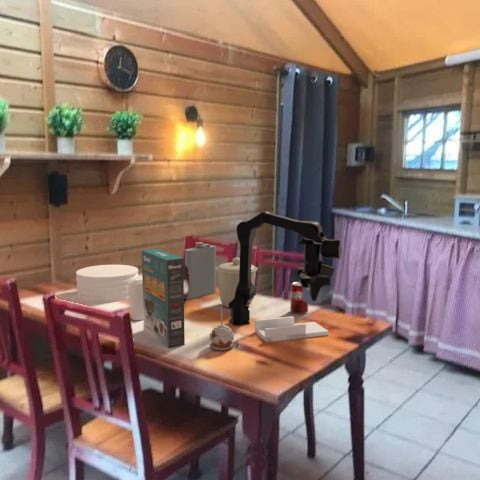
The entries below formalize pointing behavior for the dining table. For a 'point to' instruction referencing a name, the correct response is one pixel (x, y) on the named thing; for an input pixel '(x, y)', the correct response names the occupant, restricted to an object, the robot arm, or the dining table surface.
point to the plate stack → (105, 282)
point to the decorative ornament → (221, 336)
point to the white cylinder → (136, 299)
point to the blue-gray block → (308, 298)
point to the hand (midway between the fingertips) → (311, 299)
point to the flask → (201, 270)
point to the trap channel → (287, 329)
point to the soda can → (297, 299)
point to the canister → (230, 280)
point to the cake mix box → (163, 296)
